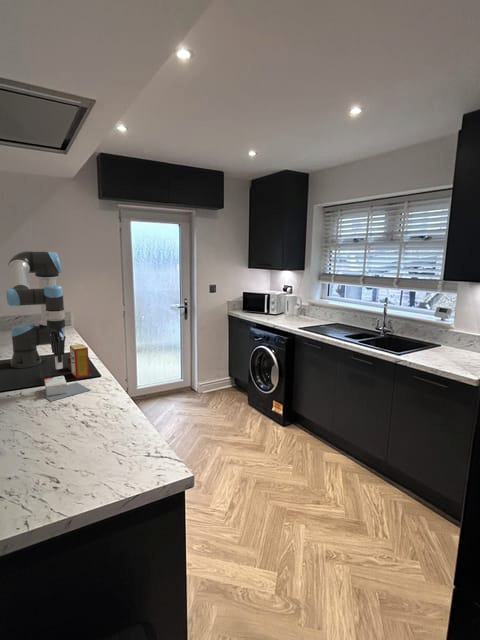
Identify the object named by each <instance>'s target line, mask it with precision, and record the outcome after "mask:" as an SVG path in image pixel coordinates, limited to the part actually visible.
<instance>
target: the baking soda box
mask: <svg viewBox="0 0 480 640" xmlns="http://www.w3.org/2000/svg"><path fill="white" fill-rule="evenodd" d="M69 357H70V358H71V370H70V371H71V374H72V376H73V377H74V378H75V377H76V378H75V379H81V378H82V379H83V378H87V377H90V364H89V363H90V362H89V361H90V360H89V348H88V346H86V345H85V344H84V343H79V344H71V345H69ZM86 376H87V377H86Z"/></svg>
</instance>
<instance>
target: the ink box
mask: <svg viewBox="0 0 480 640" xmlns="http://www.w3.org/2000/svg"><path fill="white" fill-rule="evenodd" d="M67 385H68V384H67V380H66V378H65V376H64V375H60V376H53V377H48V378H44V386H45V387H44V388H45V391H46V394H47V396H51V395H58V394H64V393H67Z"/></svg>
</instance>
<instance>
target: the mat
mask: <svg viewBox="0 0 480 640" xmlns="http://www.w3.org/2000/svg"><path fill="white" fill-rule="evenodd" d="M90 391H91V389H89V387H86V386H85V385H82V384H81V383H78V382H74V383H69V384H67V393H64V394H58V395H51V396H47V394H46V390H42V391H39V392H38V394H39V395H40V396H42V397H43V398H45V399H46V400H47V401H49V402H55V401H59V400H62V399H66V398H69V397H73V396H76V395H79V394H83V393H86V392H90Z"/></svg>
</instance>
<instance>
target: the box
mask: <svg viewBox="0 0 480 640" xmlns="http://www.w3.org/2000/svg"><path fill="white" fill-rule="evenodd" d="M67 366H68V371H71V358H70V356H68V357H67Z"/></svg>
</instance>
